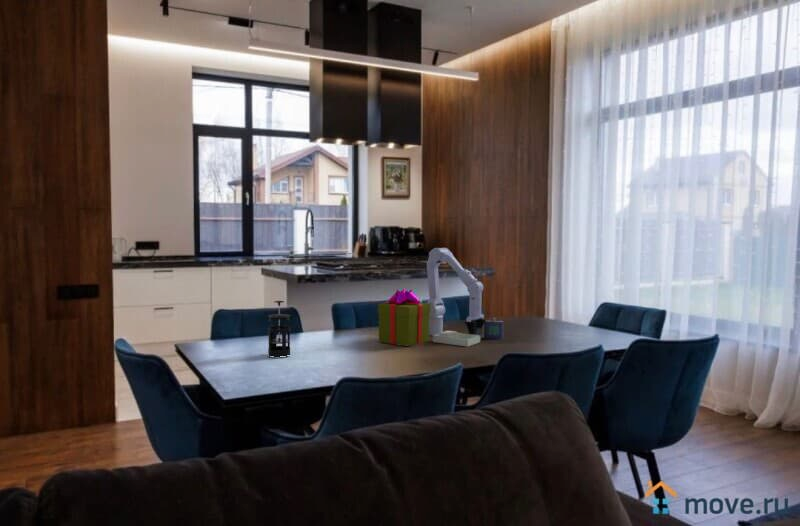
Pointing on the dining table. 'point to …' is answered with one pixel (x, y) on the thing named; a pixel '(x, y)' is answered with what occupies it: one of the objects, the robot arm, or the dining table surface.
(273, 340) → the french press
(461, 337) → the tote
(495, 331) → the flask
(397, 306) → the gift box
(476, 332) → the tin
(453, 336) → the egg box
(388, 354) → the dining table surface
